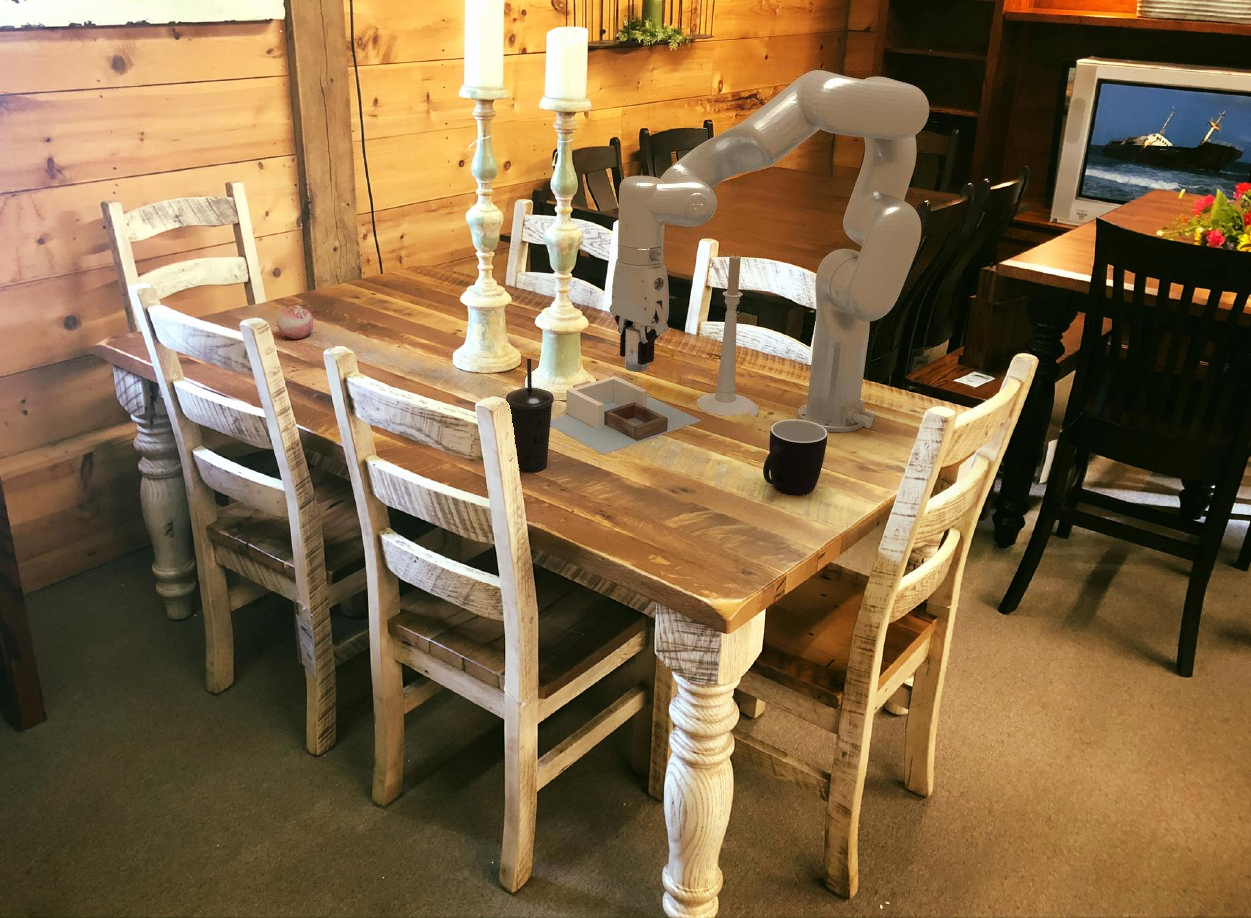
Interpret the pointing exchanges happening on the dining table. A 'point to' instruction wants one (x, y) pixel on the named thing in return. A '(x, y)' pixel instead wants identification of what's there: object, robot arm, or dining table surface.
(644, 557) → the dining table surface
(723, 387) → the candlestick
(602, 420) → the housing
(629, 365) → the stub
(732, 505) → the dining table surface
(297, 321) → the apple
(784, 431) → the mug
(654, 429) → the socket
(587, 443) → the board
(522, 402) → the drinking cup
